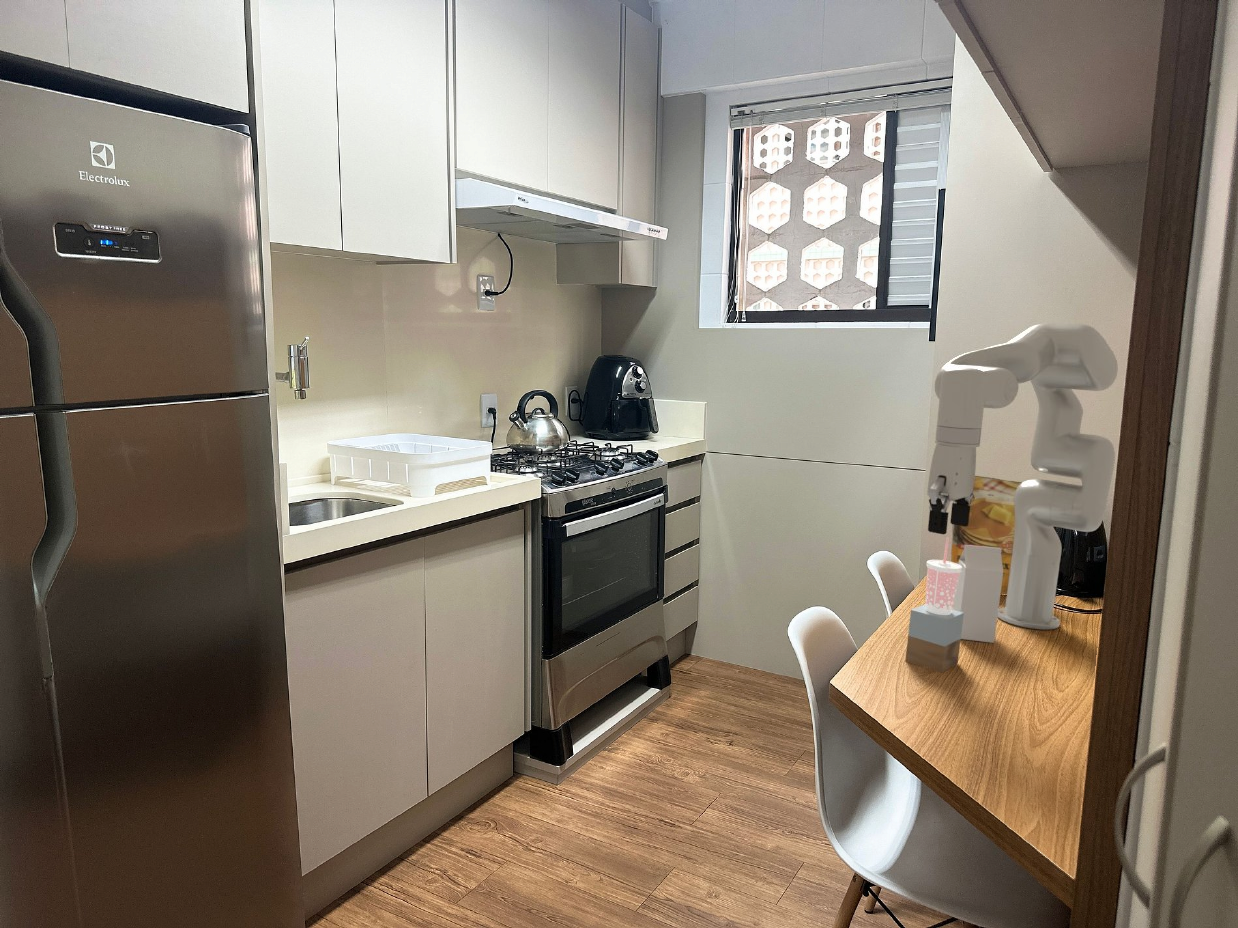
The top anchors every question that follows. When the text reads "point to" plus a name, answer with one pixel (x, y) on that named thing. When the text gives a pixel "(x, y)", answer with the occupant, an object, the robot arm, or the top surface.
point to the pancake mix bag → (989, 522)
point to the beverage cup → (941, 584)
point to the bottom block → (932, 654)
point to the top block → (935, 626)
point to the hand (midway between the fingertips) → (948, 528)
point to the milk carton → (979, 592)
